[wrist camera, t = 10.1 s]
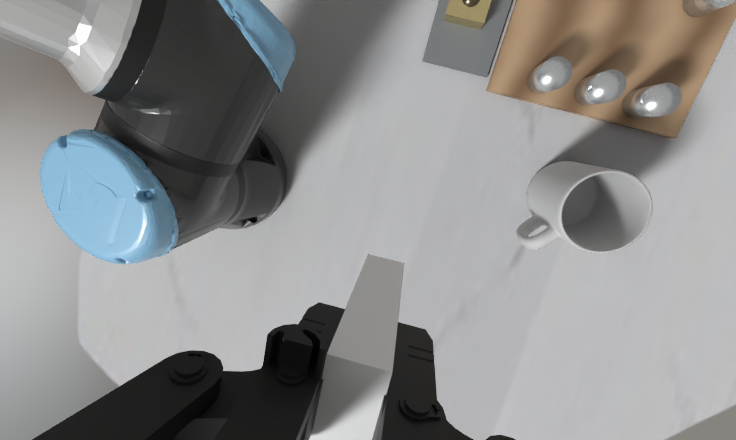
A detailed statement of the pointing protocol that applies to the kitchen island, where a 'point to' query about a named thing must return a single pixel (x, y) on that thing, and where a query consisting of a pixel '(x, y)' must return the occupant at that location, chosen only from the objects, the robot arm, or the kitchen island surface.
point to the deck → (611, 52)
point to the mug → (585, 207)
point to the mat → (466, 40)
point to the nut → (467, 12)
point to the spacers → (618, 79)
